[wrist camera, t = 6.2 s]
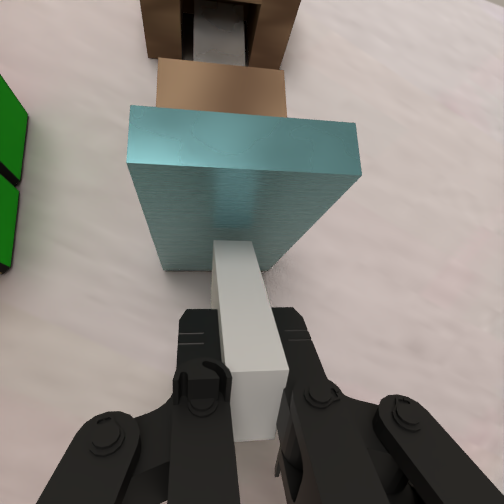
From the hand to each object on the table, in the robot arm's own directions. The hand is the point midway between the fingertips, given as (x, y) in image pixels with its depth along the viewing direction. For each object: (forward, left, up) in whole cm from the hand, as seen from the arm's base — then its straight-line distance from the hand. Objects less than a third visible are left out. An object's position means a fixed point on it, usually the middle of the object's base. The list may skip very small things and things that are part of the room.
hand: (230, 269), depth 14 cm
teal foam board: (0, +9, -6) cm, 11 cm away
